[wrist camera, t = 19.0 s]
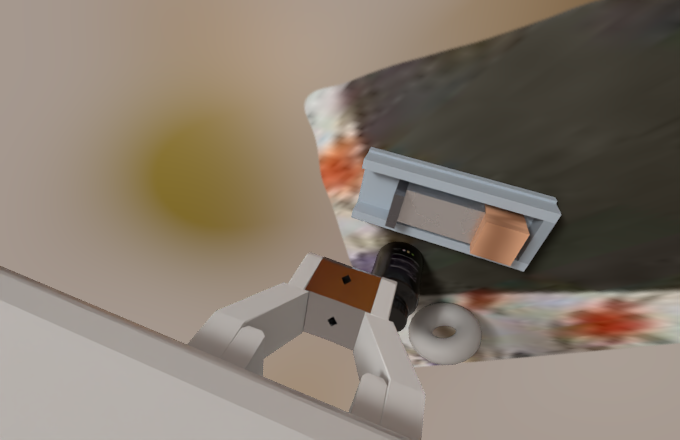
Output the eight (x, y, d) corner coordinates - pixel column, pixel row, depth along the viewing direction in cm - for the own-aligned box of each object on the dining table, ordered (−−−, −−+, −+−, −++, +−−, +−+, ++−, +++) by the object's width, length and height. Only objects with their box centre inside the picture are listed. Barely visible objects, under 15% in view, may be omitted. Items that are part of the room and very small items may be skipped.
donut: (414, 313, 53) (406, 366, 45) (411, 297, 52) (401, 349, 44) (481, 315, 49) (485, 374, 41) (479, 298, 48) (482, 355, 40)
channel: (555, 197, 37) (563, 212, 34) (518, 256, 42) (522, 273, 39) (371, 146, 41) (364, 156, 38) (357, 206, 46) (350, 219, 43)
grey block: (484, 200, 39) (486, 221, 35) (469, 230, 41) (470, 252, 37) (400, 176, 40) (394, 193, 37) (391, 207, 43) (384, 225, 39)
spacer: (522, 211, 38) (529, 234, 34) (505, 241, 41) (510, 266, 37) (483, 200, 39) (486, 221, 35) (469, 230, 41) (469, 253, 37)
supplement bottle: (411, 283, 50) (399, 347, 40) (371, 264, 51) (349, 323, 41) (432, 252, 46) (424, 315, 36) (388, 232, 47) (369, 288, 37)
